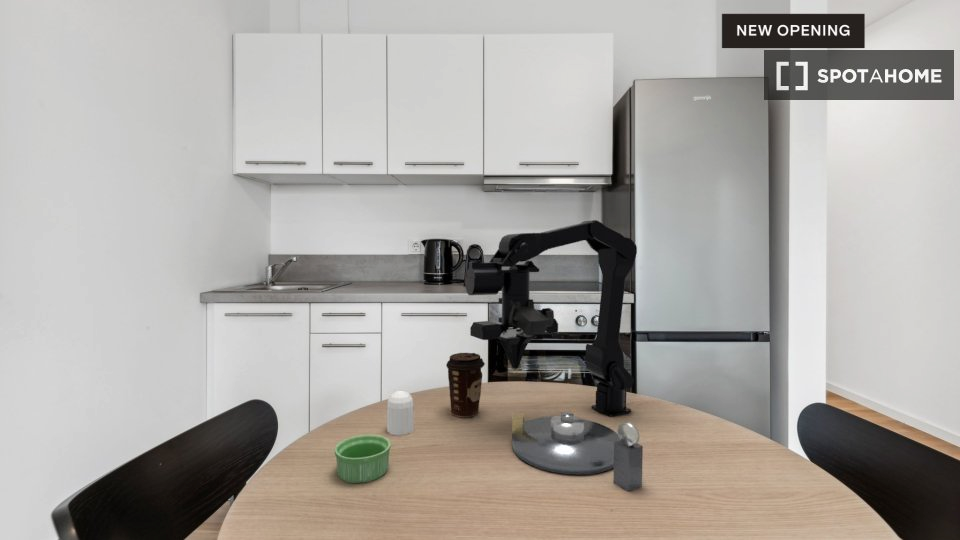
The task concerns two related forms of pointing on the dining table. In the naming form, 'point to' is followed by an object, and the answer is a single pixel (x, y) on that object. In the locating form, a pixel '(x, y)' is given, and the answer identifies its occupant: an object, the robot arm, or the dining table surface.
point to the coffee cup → (465, 383)
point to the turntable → (563, 447)
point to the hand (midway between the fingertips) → (515, 368)
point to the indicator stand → (628, 458)
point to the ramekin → (362, 458)
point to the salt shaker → (400, 413)
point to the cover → (567, 428)
